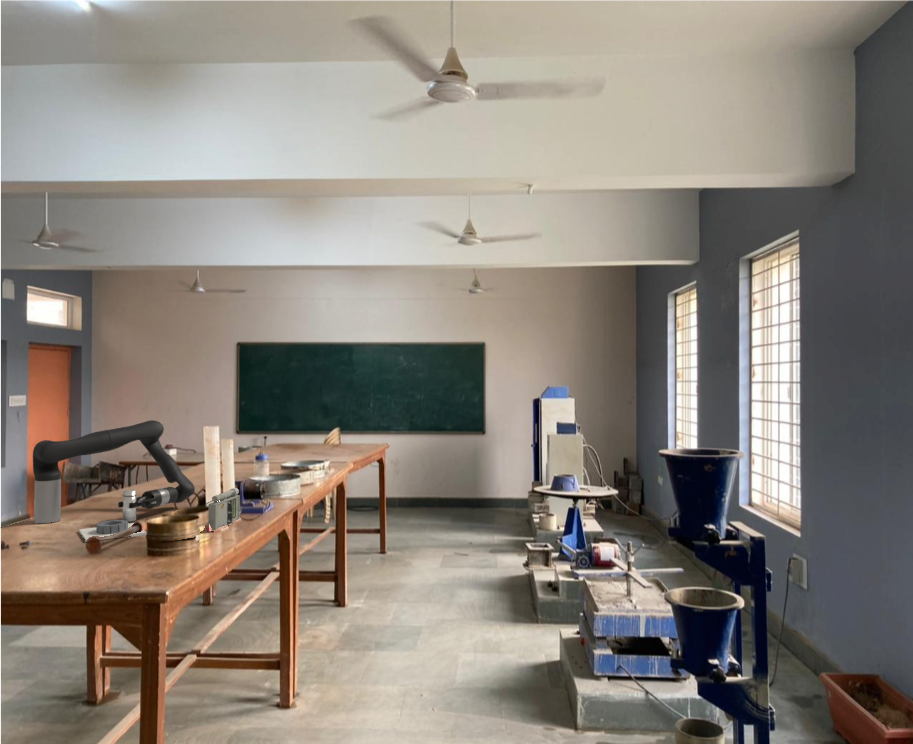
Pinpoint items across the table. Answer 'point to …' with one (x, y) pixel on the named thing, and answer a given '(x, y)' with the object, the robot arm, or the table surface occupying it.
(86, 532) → the ring plate
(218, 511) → the geiger counter
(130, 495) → the piston
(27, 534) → the table surface
